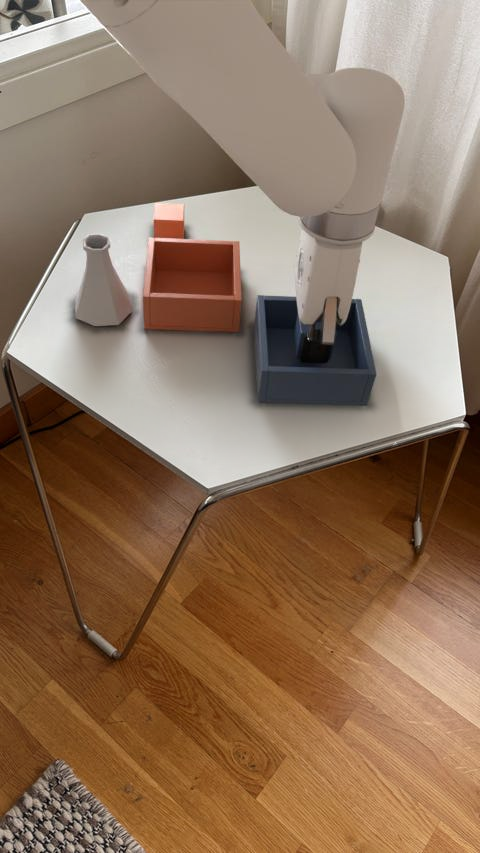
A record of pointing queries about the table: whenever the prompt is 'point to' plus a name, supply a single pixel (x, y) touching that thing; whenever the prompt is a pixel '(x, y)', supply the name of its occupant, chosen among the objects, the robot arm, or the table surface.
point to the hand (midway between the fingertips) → (312, 345)
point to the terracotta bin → (192, 285)
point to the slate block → (299, 336)
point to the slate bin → (310, 382)
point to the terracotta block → (169, 221)
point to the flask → (101, 287)
